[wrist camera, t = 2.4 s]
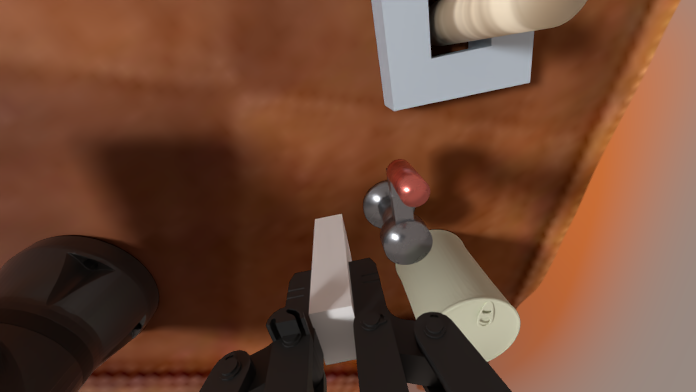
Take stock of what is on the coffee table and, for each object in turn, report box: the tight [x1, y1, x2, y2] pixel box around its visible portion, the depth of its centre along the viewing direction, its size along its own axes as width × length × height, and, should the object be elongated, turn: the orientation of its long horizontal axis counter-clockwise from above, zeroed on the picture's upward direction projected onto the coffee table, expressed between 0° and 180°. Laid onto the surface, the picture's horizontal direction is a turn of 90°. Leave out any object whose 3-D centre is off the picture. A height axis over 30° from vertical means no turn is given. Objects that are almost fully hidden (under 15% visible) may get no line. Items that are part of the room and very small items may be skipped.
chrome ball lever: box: [380, 159, 433, 265], centre depth 23 cm, size 4×10×6 cm, turn 11°
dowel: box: [428, 0, 587, 46], centre depth 19 cm, size 4×4×14 cm
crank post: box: [363, 180, 415, 228], centre depth 30 cm, size 6×6×6 cm
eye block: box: [371, 0, 534, 111], centre depth 24 cm, size 12×12×4 cm
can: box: [396, 230, 520, 362], centre depth 31 cm, size 9×9×12 cm
